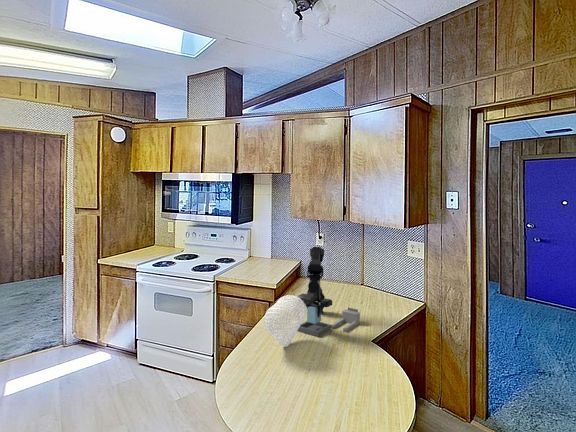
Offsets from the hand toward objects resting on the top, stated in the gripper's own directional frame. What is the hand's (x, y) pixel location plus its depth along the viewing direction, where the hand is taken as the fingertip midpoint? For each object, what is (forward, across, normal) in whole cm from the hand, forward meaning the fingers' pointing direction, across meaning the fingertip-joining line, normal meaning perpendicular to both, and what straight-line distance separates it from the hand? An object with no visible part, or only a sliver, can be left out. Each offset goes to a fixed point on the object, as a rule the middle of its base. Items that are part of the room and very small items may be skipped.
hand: (314, 316), depth 182 cm
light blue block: (+3, 0, 0) cm, 3 cm away
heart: (+8, 0, -25) cm, 26 cm away
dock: (+8, +10, +17) cm, 21 cm away
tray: (+8, 0, 0) cm, 8 cm away
